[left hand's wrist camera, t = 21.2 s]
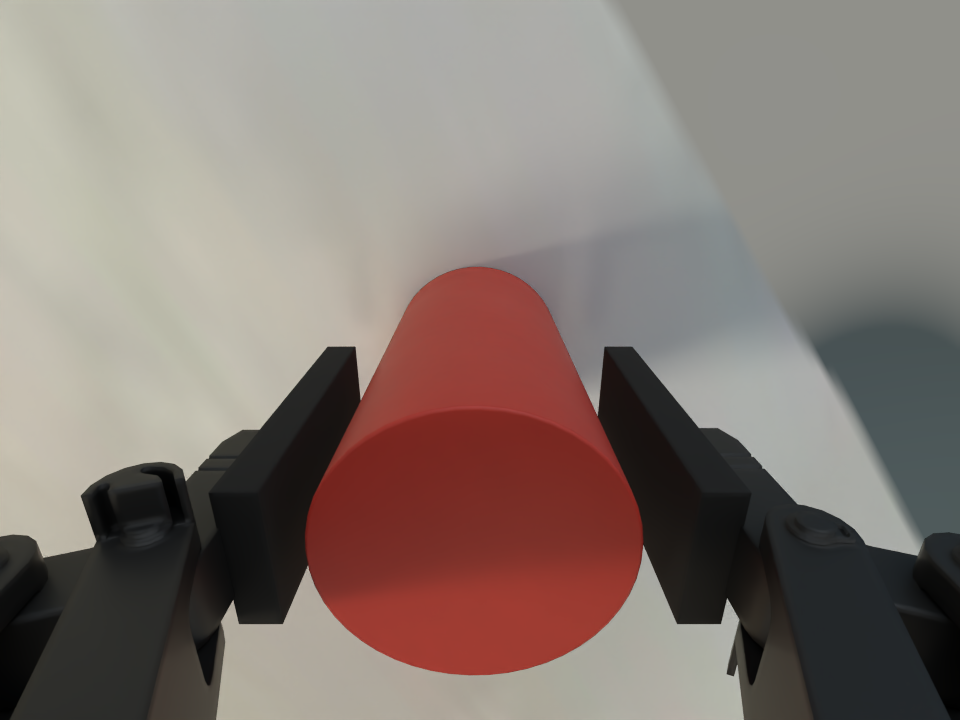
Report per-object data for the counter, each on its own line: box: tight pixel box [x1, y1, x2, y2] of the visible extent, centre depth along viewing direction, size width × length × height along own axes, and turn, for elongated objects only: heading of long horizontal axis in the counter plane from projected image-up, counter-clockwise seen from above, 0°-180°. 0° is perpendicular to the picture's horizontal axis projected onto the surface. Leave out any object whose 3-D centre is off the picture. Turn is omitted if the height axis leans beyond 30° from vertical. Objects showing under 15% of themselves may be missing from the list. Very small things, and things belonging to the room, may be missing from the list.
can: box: [305, 267, 643, 675], centre depth 13 cm, size 6×6×10 cm
